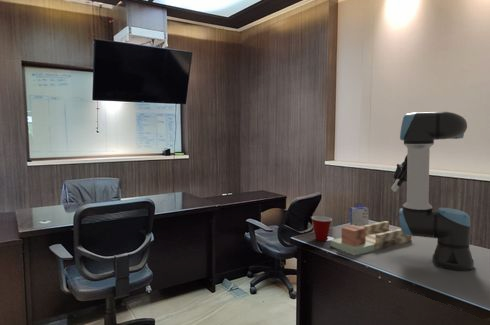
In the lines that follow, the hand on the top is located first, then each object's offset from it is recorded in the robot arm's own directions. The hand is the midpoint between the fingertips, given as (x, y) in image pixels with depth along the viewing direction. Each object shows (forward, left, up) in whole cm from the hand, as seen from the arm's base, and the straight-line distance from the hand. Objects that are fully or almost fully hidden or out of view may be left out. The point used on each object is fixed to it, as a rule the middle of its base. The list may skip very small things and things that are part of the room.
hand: (393, 189), depth 180 cm
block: (-8, +28, -23) cm, 37 cm away
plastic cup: (+10, +36, -26) cm, 46 cm away
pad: (-7, +28, -26) cm, 39 cm away
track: (-2, +9, -26) cm, 28 cm away
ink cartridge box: (+23, +6, -26) cm, 35 cm away
